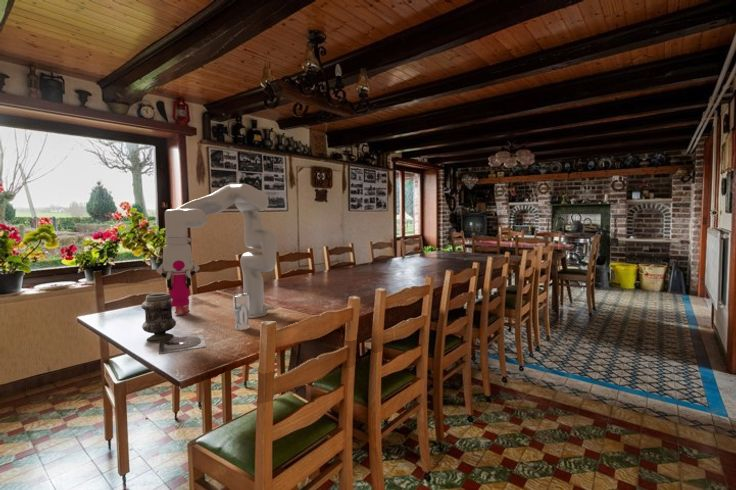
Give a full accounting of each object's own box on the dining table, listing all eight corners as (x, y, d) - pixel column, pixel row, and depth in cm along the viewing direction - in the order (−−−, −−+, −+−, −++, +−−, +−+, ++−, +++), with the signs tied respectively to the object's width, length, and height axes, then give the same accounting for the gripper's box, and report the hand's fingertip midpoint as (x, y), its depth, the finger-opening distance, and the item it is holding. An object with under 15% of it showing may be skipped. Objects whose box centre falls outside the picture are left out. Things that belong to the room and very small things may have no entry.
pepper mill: (174, 302, 153) (172, 252, 151) (193, 302, 154) (191, 252, 152) (166, 307, 146) (164, 254, 144) (186, 306, 147) (184, 254, 145)
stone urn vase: (178, 332, 165) (175, 291, 164) (174, 340, 154) (172, 295, 153) (146, 336, 161) (143, 293, 160) (140, 344, 150) (137, 298, 149)
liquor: (177, 312, 198) (174, 258, 195) (192, 312, 199) (189, 258, 196) (171, 316, 191) (168, 260, 188) (187, 316, 191) (184, 259, 189)
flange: (203, 335, 162) (203, 332, 162) (206, 347, 148) (206, 344, 148) (159, 341, 155) (159, 338, 155) (158, 354, 141) (158, 351, 141)
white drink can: (253, 326, 173) (252, 293, 172) (243, 331, 167) (242, 297, 165) (240, 325, 176) (239, 292, 174) (230, 329, 169) (229, 296, 168)
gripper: (200, 240, 155) (202, 284, 157) (151, 242, 147) (154, 289, 149) (202, 241, 148) (204, 288, 150) (150, 243, 141) (153, 292, 142)
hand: (179, 288), depth 149 cm, fingers closed on pepper mill, 5 cm apart
